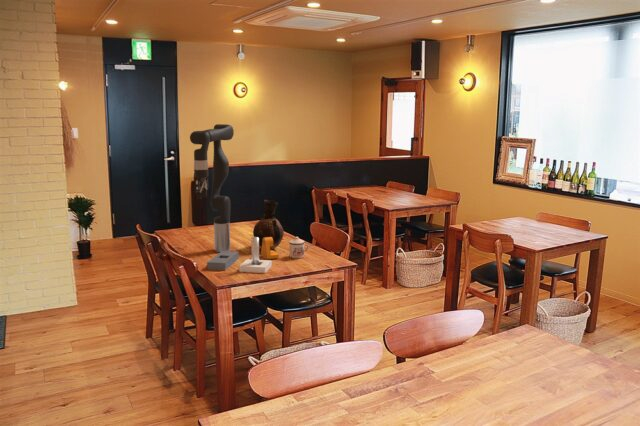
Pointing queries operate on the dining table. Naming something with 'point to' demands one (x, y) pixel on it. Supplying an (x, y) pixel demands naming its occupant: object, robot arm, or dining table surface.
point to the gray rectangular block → (222, 260)
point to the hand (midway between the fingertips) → (202, 198)
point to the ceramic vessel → (269, 225)
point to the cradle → (255, 266)
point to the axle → (255, 250)
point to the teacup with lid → (297, 248)
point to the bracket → (268, 249)
